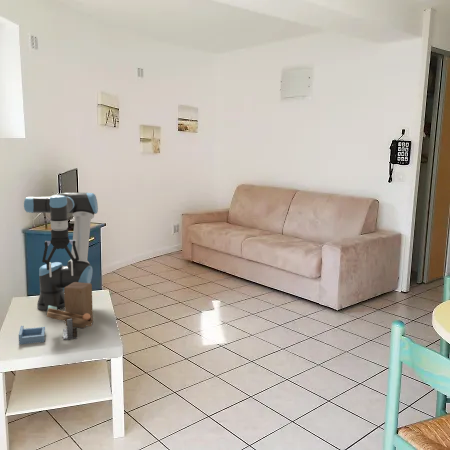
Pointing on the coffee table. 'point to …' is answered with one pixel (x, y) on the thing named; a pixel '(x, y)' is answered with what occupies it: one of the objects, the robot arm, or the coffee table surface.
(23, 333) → the blue square tray
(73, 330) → the fulcrum
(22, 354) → the coffee table surface
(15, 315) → the coffee table surface
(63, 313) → the lever
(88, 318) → the ball
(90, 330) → the coffee table surface
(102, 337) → the coffee table surface
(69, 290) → the wooden block
